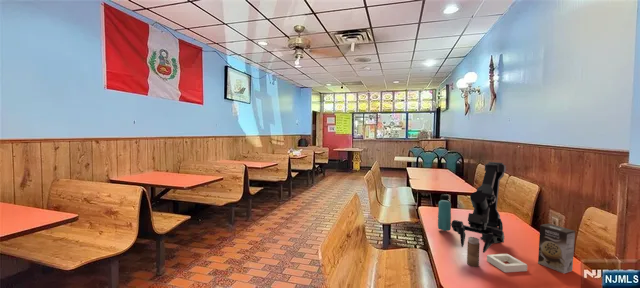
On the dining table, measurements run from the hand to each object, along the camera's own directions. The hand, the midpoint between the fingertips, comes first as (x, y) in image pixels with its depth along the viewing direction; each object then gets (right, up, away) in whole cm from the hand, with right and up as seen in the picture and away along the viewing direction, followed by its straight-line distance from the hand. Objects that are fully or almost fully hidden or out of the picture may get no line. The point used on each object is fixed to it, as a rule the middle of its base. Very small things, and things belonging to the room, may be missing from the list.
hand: (472, 249), depth 108 cm
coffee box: (+33, -7, -1) cm, 33 cm away
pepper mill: (+1, -7, +1) cm, 7 cm away
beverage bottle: (+6, -5, +37) cm, 38 cm away
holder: (+14, -7, 0) cm, 15 cm away
